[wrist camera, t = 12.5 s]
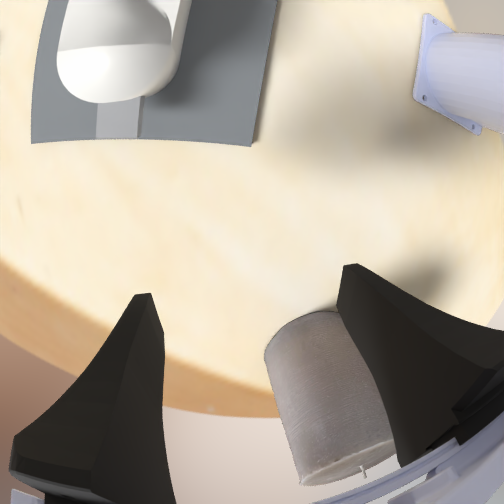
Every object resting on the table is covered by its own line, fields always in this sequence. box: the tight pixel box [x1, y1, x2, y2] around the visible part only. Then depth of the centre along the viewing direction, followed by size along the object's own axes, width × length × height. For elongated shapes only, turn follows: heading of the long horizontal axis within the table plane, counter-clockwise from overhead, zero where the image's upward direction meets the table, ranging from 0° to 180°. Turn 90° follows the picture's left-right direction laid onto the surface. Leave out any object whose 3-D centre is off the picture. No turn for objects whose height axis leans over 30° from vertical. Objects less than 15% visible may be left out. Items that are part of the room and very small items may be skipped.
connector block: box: [57, 0, 192, 139], centre depth 9 cm, size 4×11×6 cm, turn 171°
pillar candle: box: [264, 311, 396, 486], centre depth 21 cm, size 10×10×15 cm
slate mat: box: [31, 0, 277, 147], centre depth 11 cm, size 14×14×1 cm
